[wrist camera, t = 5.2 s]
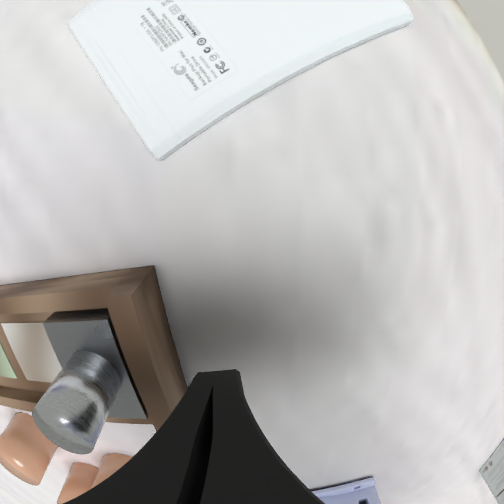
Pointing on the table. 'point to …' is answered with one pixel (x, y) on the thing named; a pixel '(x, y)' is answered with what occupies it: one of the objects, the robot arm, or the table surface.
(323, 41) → the external hard drive
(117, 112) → the table surface
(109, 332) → the slider
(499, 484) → the supplement box
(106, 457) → the peach domed capsule
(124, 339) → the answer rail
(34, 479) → the peach domed cylinder
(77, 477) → the peach rounded cylinder
